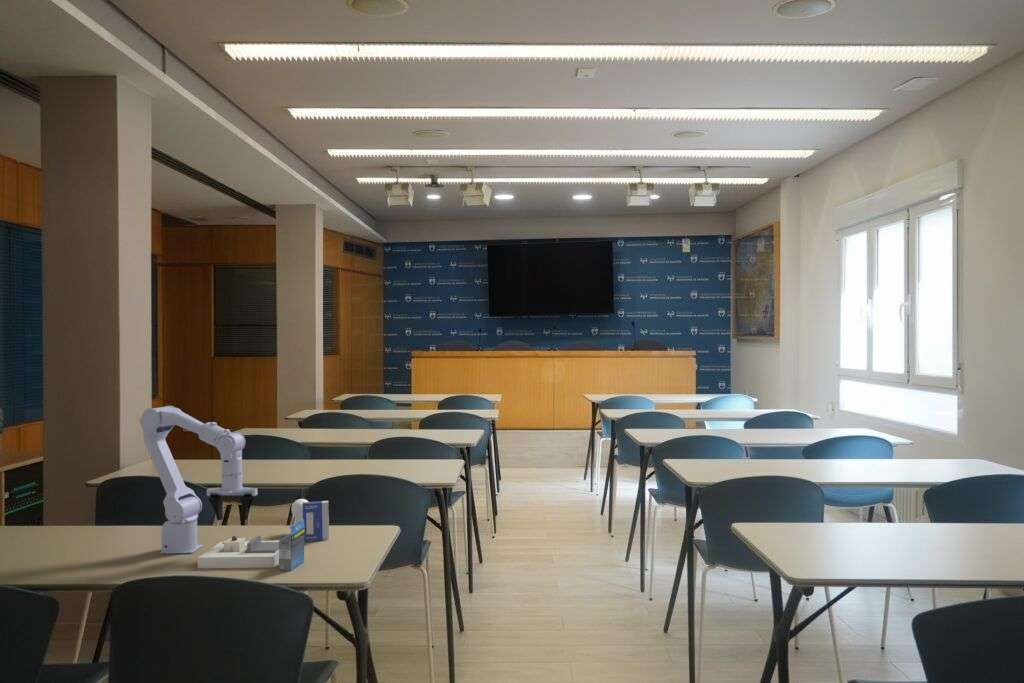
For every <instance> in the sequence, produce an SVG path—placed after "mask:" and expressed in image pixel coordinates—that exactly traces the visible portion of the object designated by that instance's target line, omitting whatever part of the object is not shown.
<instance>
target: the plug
mask: <svg viewBox="0 0 1024 683" xmlns="http://www.w3.org/2000/svg"><path fill="white" fill-rule="evenodd" d="M245 541H246V537H238V535H235V536H231V537H230V538H228V539H226V540H225V542H224V552H242V551H243V550H244V549H246V546H245Z"/></svg>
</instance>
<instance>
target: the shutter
mask: <svg viewBox="0 0 1024 683" xmlns="http://www.w3.org/2000/svg"><path fill="white" fill-rule="evenodd" d="M249 541H250V542H248V543H247V550H245V553H270V552H276V551H277V550H279V542H261V541H262V535H256V536H255V537H254V538H252V539H251V540H249Z"/></svg>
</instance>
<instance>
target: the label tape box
mask: <svg viewBox="0 0 1024 683" xmlns="http://www.w3.org/2000/svg"><path fill="white" fill-rule="evenodd" d="M297 526H300V528H297ZM289 528H290V533H289V534H287V535H286V536H284V537H283V538H281V539H279V540H278V541H279V562H278V571H283V572H291V571H293V570H295V569H296V568H298V566H300V565H301V564H302V563H304V562H305V541H304V536H305V535H304V529H305V526H304V519H302V520H301V521H299V522H297V523H293V524H291V525H290V526H289Z"/></svg>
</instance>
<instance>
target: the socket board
mask: <svg viewBox="0 0 1024 683" xmlns="http://www.w3.org/2000/svg"><path fill="white" fill-rule="evenodd" d="M225 541H226V540H225ZM225 541H220V542H219V543H217V544H215V545H214V546H212V547H211V548H209V549H208V550H206V551H205V552H204V553H202V554H200V555H199V556H197V569H241V568H242V569H244V568H245V569H246V568H248V569H250V568H251V569H252V568H254V569H255V568H263V569H264V568H274V567H275V566H276V565H278V564H279V550H277V551H276V552H270V553H245V550H247V543H248V542H250V541H251V540H247V541H246V540H245V546H246V549H244V550H243V551H242V552H224V542H225ZM261 542H279V540H261Z"/></svg>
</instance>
